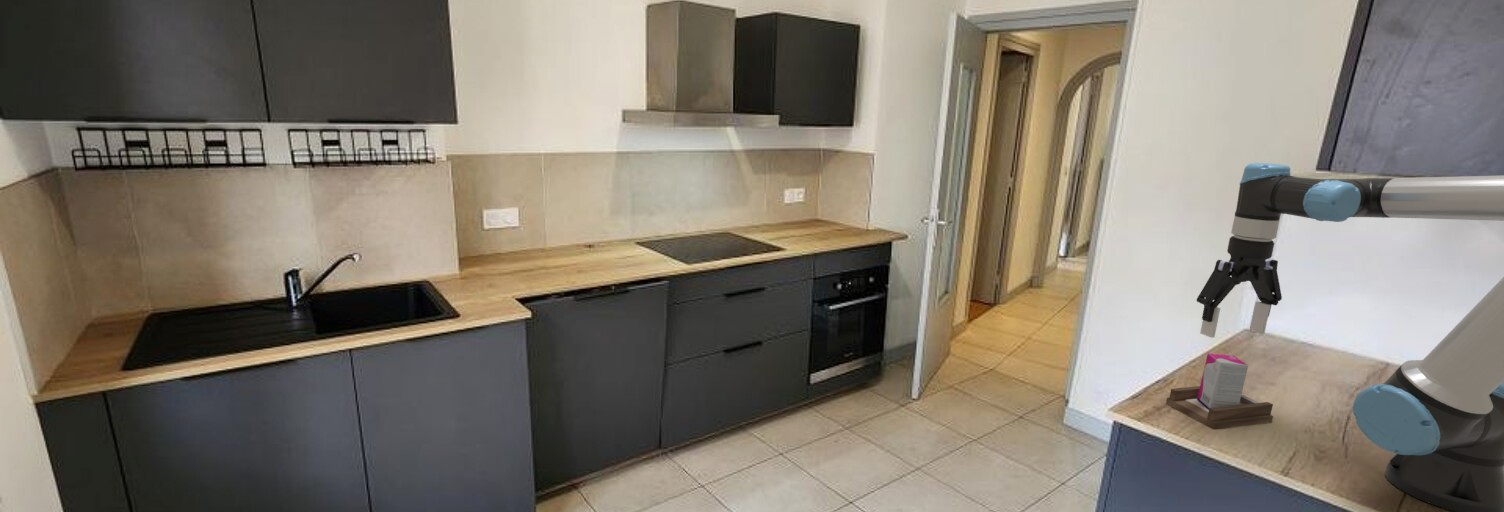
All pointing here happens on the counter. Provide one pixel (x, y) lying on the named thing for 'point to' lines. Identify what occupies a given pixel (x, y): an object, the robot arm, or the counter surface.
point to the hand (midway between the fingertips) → (1232, 333)
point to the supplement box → (1222, 381)
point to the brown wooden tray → (1220, 410)
